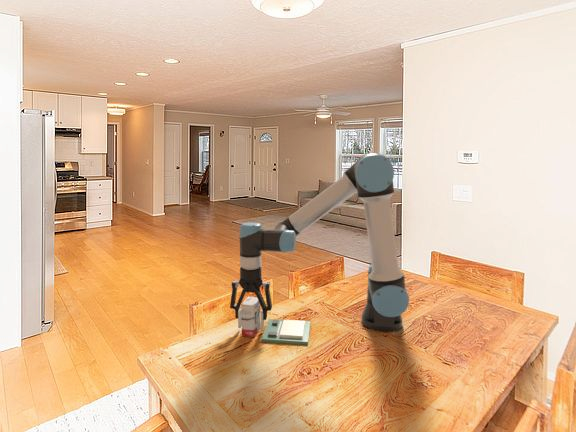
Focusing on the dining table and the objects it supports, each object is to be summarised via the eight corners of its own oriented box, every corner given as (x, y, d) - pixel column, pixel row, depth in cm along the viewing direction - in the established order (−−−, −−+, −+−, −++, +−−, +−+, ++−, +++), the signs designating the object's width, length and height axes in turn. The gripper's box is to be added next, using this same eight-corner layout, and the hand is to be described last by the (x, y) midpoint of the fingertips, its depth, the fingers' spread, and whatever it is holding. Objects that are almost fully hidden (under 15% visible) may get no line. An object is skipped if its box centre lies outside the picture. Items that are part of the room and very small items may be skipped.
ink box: (254, 337, 134) (254, 306, 132) (241, 336, 135) (240, 304, 133) (261, 326, 142) (260, 296, 140) (248, 325, 143) (248, 295, 141)
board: (310, 323, 145) (310, 318, 145) (307, 344, 129) (307, 339, 129) (268, 321, 147) (268, 316, 146) (261, 341, 131) (261, 336, 131)
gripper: (280, 264, 137) (280, 324, 141) (225, 262, 139) (226, 321, 143) (277, 271, 129) (277, 333, 133) (219, 268, 132) (220, 330, 136)
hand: (251, 327), depth 138 cm, fingers open, 8 cm apart
